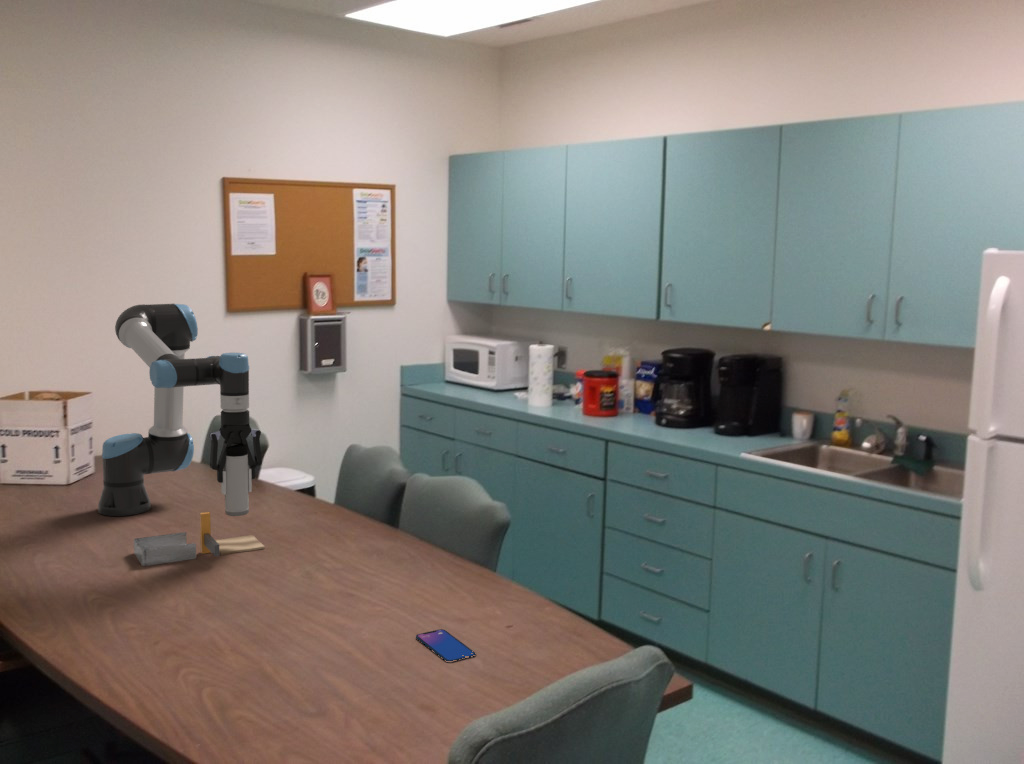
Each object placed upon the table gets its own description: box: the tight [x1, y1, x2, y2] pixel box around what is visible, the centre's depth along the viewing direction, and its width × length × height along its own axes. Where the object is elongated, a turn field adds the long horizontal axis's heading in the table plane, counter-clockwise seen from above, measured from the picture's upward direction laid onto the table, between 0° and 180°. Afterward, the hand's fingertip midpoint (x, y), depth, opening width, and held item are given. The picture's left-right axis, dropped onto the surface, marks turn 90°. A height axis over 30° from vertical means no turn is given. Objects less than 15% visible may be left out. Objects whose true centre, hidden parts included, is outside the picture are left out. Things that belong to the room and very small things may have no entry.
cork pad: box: [214, 534, 266, 556], centre depth 262 cm, size 12×12×1 cm
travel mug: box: [224, 443, 250, 517], centre depth 259 cm, size 6×7×20 cm
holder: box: [133, 531, 197, 567], centre depth 252 cm, size 12×14×4 cm
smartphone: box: [415, 628, 477, 661], centre depth 199 cm, size 7×1×15 cm
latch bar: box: [199, 511, 221, 557], centre depth 250 cm, size 13×2×11 cm, turn 32°
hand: (236, 492), depth 260 cm, fingers closed on travel mug, 6 cm apart
